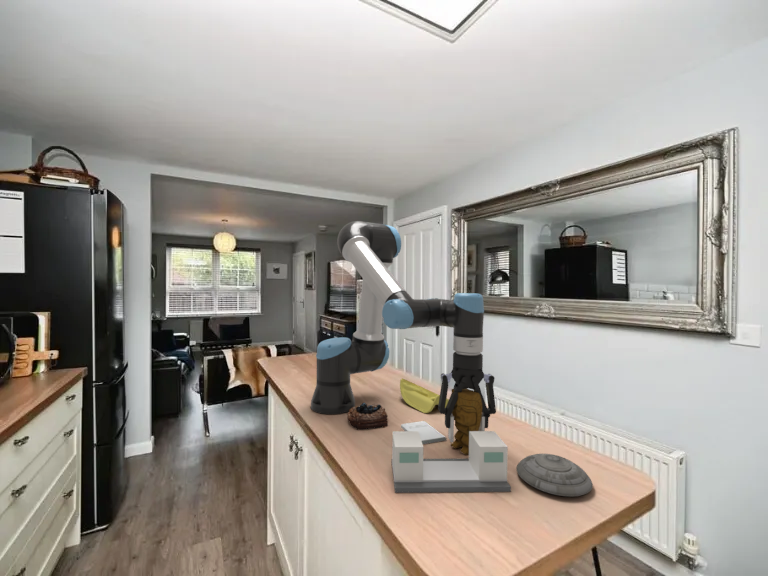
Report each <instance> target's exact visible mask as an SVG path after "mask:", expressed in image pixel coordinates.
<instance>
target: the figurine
mask: <svg viewBox="0 0 768 576" xmlns="http://www.w3.org/2000/svg"><path fill="white" fill-rule="evenodd" d="M453 389H454V388H451V394H452V393H453V392H454V390H453ZM452 415H453V416H454V427H455V428H456V429H455V430H457V431H456V433H455V434H454V439H455V440H454V441H453V442H451V444H450V446H451V447H452V448H453V449H458V448H460V452H461V453H462V454H464V455H469V431H479V427H480V423H481V417H482V401H481V396H480V394H479V393H476V392H475V391H474V390H473V389H469V388H467V389H462V391H461V392H458V399H457V402H456V404H455V407H454V409H453V411H452ZM461 447H462V448H461Z"/></svg>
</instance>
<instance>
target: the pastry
mask: <svg viewBox="0 0 768 576" xmlns="http://www.w3.org/2000/svg"><path fill="white" fill-rule="evenodd" d="M347 421H348V423H349V425H350V426H351V427H353V429H356V430H357V431H362V430H363V431H364V430H373V429H378V428H379V429H381V428H384V429H385V428H386V427H388V425H389V422H388V413H387V412H386V409H385V408H383V406H382V405H381V404H380V403H374V404H370V405H368V403H366V402H362V403H361V404H360V405H355V407H352V408H351V409H350V410H349V411H348V412H347Z"/></svg>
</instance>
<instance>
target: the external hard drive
mask: <svg viewBox="0 0 768 576" xmlns="http://www.w3.org/2000/svg"><path fill="white" fill-rule="evenodd" d="M400 429H402V431H418V432H419V435H420V438H421V441H422V444H423V445H426V444H427V445H428V444H433V443H434V444H435V443H438V442H446V441H447V437H446V436H445V435H444V434H442V433H441V432H439V431H438V430H437V429H436V428H435V427H433V426H432V425H430V424H429V423H428V422H427V421H424V420H420V421H415V422H406V423H402V424H400Z"/></svg>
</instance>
